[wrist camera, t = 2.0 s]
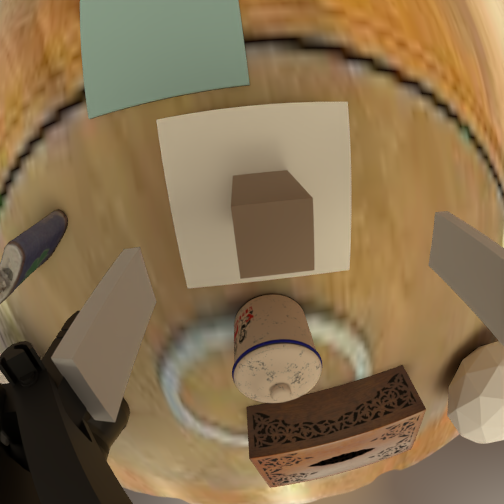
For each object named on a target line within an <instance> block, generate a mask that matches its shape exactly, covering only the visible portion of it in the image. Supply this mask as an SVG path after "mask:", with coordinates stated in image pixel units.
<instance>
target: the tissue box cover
mask: <svg viewBox="0 0 504 504" xmlns="http://www.w3.org/2000/svg"><path fill="white" fill-rule="evenodd" d="M425 411H426V408H425V406H424V404H423V403H422V401H421V399H420V397H419V395H418V393H417V391H416V389H415V387H414V386H413V384H412V382H411V380H410V378H409V376H408V374H407V373H406V371H405V369H404V367H403V365H401V366H398V367H396V368H393V369H390V370H387V371H384V372H382V373H379V374H376V375H373V376H370V377H366V378H363V379H360V380H357V381H354V382H350V383H347V384H344V385H340V386H337V387H333V388H329V389H326V390H322V391H318V392H314V393H310V394H306V395H302V396H300V397H298V398H296V399H293V400H290V401H286V402H281V403H265V404H259V405H254V406H248V407H247V422H248V441H249V459H250V460H251V461H252V463H253V464H254V466H255V467H256V469H257V470H258V471H259V473H260V474H261V476H262V477H263V479H264V480H265V481H266V483H267V484H268V485H269V487H270V488H271V487H277V486H284V485H289V484H295V483H300V482H305V481H310V480H315V479H319V478H323V477H327V476H331V475H335V474H339V473H343V472H346V471H350V470H353V469H357V468H360V467H363V466H367V465H370V464H373V463H376V462H379V461H381V460H384V459H387V458H390V457H393V456H395V455H398V454H400V453H403V452H405V451H408V450H410V449H411V448H412V446H413V443H414V441H415V438H416V436H417V433H418V431H419V428H420V425H421V422H422V420H423V417H424V414H425Z"/></svg>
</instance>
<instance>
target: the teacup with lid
mask: <svg viewBox="0 0 504 504" xmlns="http://www.w3.org/2000/svg"><path fill="white" fill-rule="evenodd" d="M234 360H235V364H234V366H233V370H232V377H233V381H234V383H235V385H236V387H237V388H238V389H239V391H240V392H241V393H242V394H244V395H245V396H247V397H248V398H250V399H253V400H255V401H259V402H264V403H281V402H286V401H290V400H293V399H296V398H298V397H300V396H302V395H304V394H306V393H307V392H308V391H310V390H311V389H312V388H313V387H314V386H315V385H316V383H317V382H318V380H319V378H320V375H321V371H322V360H321V357H320V355H319V354H318V352H317V351H316V349H315V346H314V343H313V339H312V336H311V333H310V330H309V327H308V323H307V320H306V317H305V314H304V312H303V310H302V308H301V307H300V305H299V304H298V303H297V302H295V301H294V300H292V299H290V298H288V297H285V296H282V295H263V296H260V297H257V298H254V299H252V300H250V301H249V302H247V303H246V304H245V305H244V306H243V307H242V308H241V309H240V310H239V312H238V313H237V315H236V318H235V322H234Z"/></svg>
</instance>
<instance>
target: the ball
mask: <svg viewBox="0 0 504 504" xmlns="http://www.w3.org/2000/svg"><path fill="white" fill-rule="evenodd" d="M447 416H448V417H449V419H450V420H451V421H452V423H453V424H454V426H455V427H456V429H457V430H458V432H459V433H460V435H461V436H463V437H465V438H467V439H470V440H472V441H474V442H477V443H491V442H496V441H500V440H504V346H503V345H502V344H501V343H500V342H499V341H497V342H493V343H490V344H487V345H484V346H480V347H478V348H477V349H476V350H474V351H473V352H472V353H471V354H469V355H468V356H467V357H466V358H464V359H463V360H462V362H461V364H460V366H459V368H458V370H457V372H456V374H455V376H454V378H453V380H452V382H451V383H450V385H449V387H448V415H447Z"/></svg>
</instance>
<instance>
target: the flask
mask: <svg viewBox="0 0 504 504" xmlns="http://www.w3.org/2000/svg"><path fill="white" fill-rule="evenodd" d="M64 215H65V214H64V213H63V212H62V211H60V210H58V211H53V212H52V213H51V214H49V215H48V216H46V217H45V218H44V219H42V220H41V221H39V222H38V223H37V224H35V225H33V226H32V227H31V228H29V229H28V230H26V231H25V232H23V233H22V234H20V235H19V236H18V237H16V238H15V239H13V240H12V241H10V242H9V243H8V244H7V245H6V247H5V248H4V253H3V256H2V260H1V262H0V304H1V303H2V302H3V301H4V300H5V299H6V298H7V297H8V296H9V295H10V294H11V293H12V292H13V291H14V290H15V289H16V288H17V287H18V286H19V285H20V284H21V283H22V282H23V281H24V280H25V279H26V278H27V277H28V276H29V275H30V274H31V273H32V272H34V271H35V270H36V269H37V268H38V267H39V266H41V265H42V264H43V263H44V262H45V261H47V260H48V258H49V257H50V256H51V255H52V253H53V252H54V251H55V249H56V247H57V245H58V243H59V242H60V241H61V238H62V237H63V235H64V233H65V231H66V228H67V224H68V223H67V222H68V220H67V217H66V215H65V217H64Z"/></svg>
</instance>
